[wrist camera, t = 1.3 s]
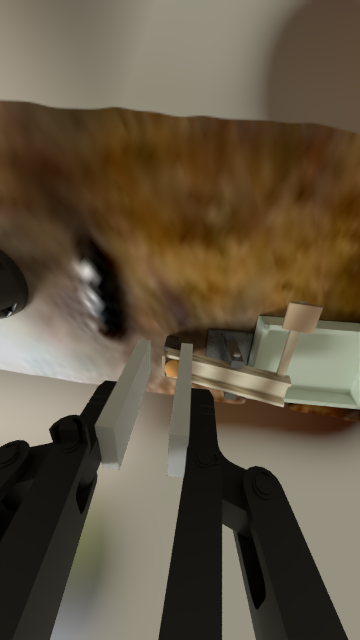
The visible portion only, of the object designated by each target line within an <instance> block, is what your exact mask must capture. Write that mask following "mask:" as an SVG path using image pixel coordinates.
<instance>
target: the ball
mask: <svg viewBox="0 0 360 640" xmlns="http://www.w3.org/2000/svg"><path fill="white" fill-rule="evenodd" d="M178 366H179V362H178V361H177V360H170V361H168V362H167V363H166V365H165V372H166V374H167V375H168V376H170V377H177V373H178Z"/></svg>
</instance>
